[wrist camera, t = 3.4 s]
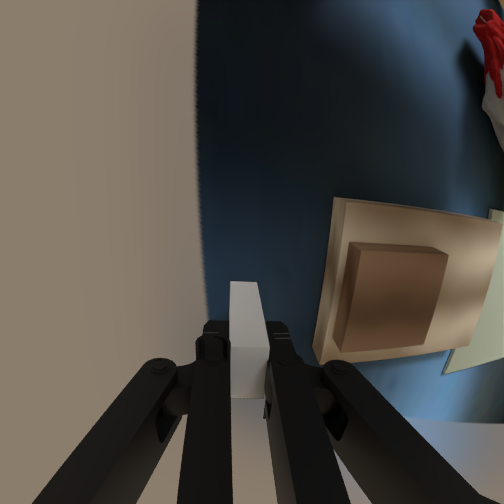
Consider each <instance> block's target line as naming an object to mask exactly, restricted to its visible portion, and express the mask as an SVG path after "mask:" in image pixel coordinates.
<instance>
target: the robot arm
mask: <svg viewBox="0 0 504 504" xmlns="http://www.w3.org/2000/svg"><path fill="white" fill-rule="evenodd" d="M195 344H196V361H194V362H193V363H191V364H188V365H184V366H176V364H175V363H174V362H173V361H171V360H169V359H165V358H154V359H151V360H149V361H147V362H146V363H145V364H144V365H143V366H142V367H141V368H140V370H139V371H138V372H137V373H136V375H135V376H134V377H133V378H132V379H131V381H130V382H129V383H128V384H127V386H126V387H125V388H124V389H123V390H122V392H121V393H120V394H119V395H118V396H117V398H116V399H115V400H114V402H113V403H112V404H111V405H110V406H109V408H108V409H107V410H106V411H105V412H104V414H103V415H102V416H101V417H100V419H99V420H98V421H97V422H96V424H95V425H94V426H93V427H92V429H91V430H90V431H89V432H88V433H87V435H86V436H85V437H84V439H83V440H82V441H81V442H80V443H79V445H78V446H77V447H76V449H75V450H74V451H73V452H72V454H71V455H70V456H69V458H67V460H66V461H65V462H64V463H63V465H62V466H61V467H60V469H59V470H58V471H57V472H56V474H55V475H54V476H53V477H52V479H51V480H50V481H49V483H48V484H47V485H46V486H45V487H44V489H43V490H42V491H41V493H40V494H39V495H38V496H37V498H36V499H35V500H34V502H33V503H32V504H136V503H137V500H138V499H139V497H140V495H141V493H142V492H143V490H144V488H145V486H146V484H147V482H148V481H149V479H150V477H151V475H152V473H153V471H154V469H155V468H156V466H157V464H158V462H159V460H160V458H161V456H162V454H163V452H164V451H165V449H166V447H167V445H168V443H169V441H170V439H171V438H172V435H173V434H174V432H175V430H176V428H177V426H178V424H179V422H180V421H181V418H182V415H185V414H188V417H187V424H186V431H185V439H184V446H183V454H182V462H181V470H180V478H179V487H178V496H177V504H233V488H232V449H231V398H243V399H245V398H246V399H248V398H249V399H251V398H252V399H262V398H264V393H265V396H266V401H265V408H264V416H263V418H264V419H266V421H267V428H268V435H269V443H270V450H271V458H272V466H273V473H274V480H275V487H276V494H277V502H278V504H351V503H350V500H349V497H348V494H347V490H346V487H345V484H344V481H343V478H342V475H341V472H340V469H339V466H338V462H337V459H336V456H335V453H334V450H335V452H336V453H337V455H338V456H339V457H340V459H341V460H342V462H343V463H344V465H345V466H346V468H347V469H348V471H349V472H350V473H351V475H352V476H353V478H354V479H355V480H356V482H357V483H358V485H359V486H360V487H361V489H362V490H363V492H364V493H365V494H366V496H367V497H368V499H369V500H370V501H371V503H372V504H500V503H498V502H496V501H493V500H491V499H489V498H486V497H484V496H482V495H480V494H479V493H478V492H477V491H476V490H475V489H474V488H473V487H472V486H471V485H470V484H469V483H468V482H467V481H466V480H465V479H464V478H463V477H462V476H461V475H460V474H459V473H458V472H457V471H456V470H455V469H454V468H453V467H452V466H451V465H450V464H449V463H448V462H447V461H446V460H445V459H444V458H443V457H442V456H441V455H440V454H439V453H438V452H437V451H436V450H435V449H434V448H433V447H432V446H431V445H430V444H429V443H428V442H427V441H426V440H425V439H424V438H423V437H422V436H421V435H420V434H419V433H418V432H417V431H416V430H415V429H414V428H413V427H412V425H411V424H410V423H409V422H408V421H407V420H406V419H405V418H404V417H403V416H402V415H401V414H400V413H399V412H398V411H397V410H396V409H395V408H394V407H393V406H392V405H391V404H390V403H389V402H388V401H387V400H386V399H385V398H384V397H383V396H382V395H381V394H380V393H379V392H378V391H377V390H376V389H375V388H374V387H373V385H372V384H371V383H370V382H369V381H368V380H367V379H366V378H365V377H364V376H363V375H362V374H361V373H360V372H359V371H358V370H357V369H356V368H355V367H354V366H353V365H352V364H350V363H349V362H346V361H344V360H338V359H337V360H330V361H328V362H326V363H325V364H324V366H323V368H320V367H314V366H309V365H307V364H304V361H303V359H302V358H301V357H300V356H299V355H297V354H296V352H295V349H294V346H293V343H292V340H291V337H290V334H289V331H288V328H287V326H286V325H285V324H284V323H282V322H281V321H264V316H263V311H262V306H261V301H260V296H259V291H258V286H257V282H237V281H230V309H229V321H213V320H209V321H208V322H207V323H206V324H205V325H204V328H203V334H202V336H200V337H199V338H197V340H196V343H195ZM333 449H334V450H333Z"/></svg>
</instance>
